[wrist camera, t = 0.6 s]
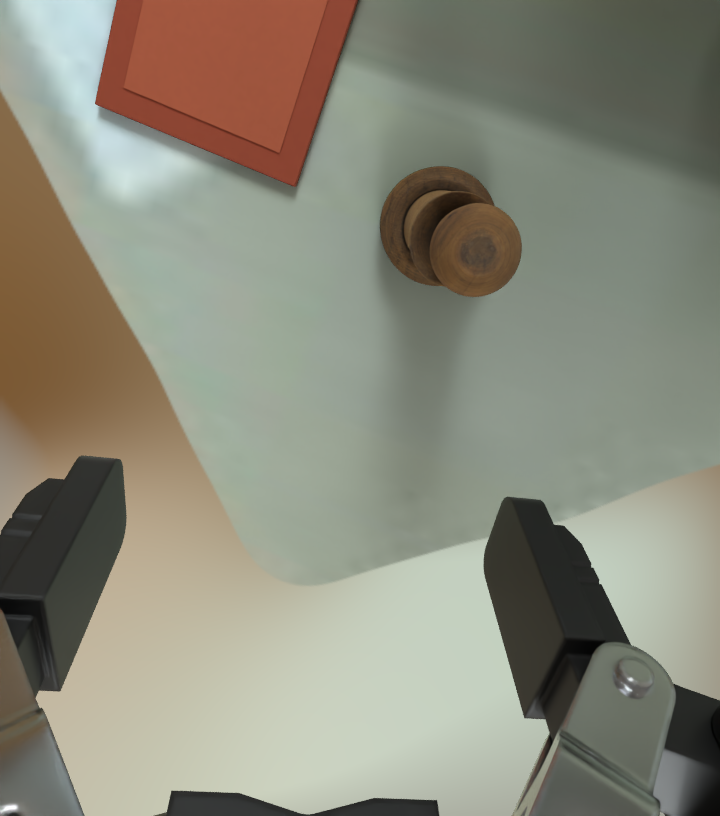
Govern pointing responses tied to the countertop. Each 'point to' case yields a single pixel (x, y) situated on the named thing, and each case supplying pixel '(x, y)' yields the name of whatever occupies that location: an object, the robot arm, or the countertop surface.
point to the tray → (227, 74)
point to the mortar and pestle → (449, 232)
